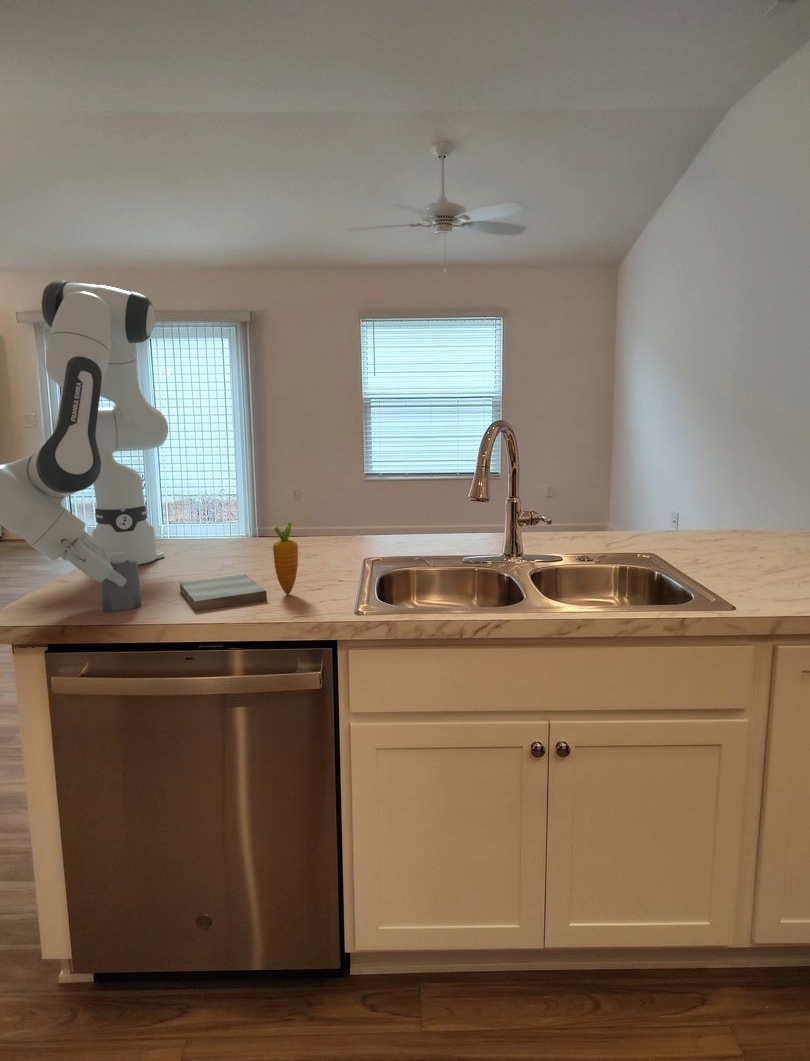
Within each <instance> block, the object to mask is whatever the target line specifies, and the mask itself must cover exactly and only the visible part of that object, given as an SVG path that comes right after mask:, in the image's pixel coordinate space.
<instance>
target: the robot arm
mask: <svg viewBox="0 0 810 1061" xmlns="http://www.w3.org/2000/svg"><path fill="white" fill-rule="evenodd" d="M40 303H41V304H40V306H41V312H42V317H43V320H44V322H45V323H46V324H47V325H48V326H49V328H50V330H49V335H48V340H47V345H46V352H45V371H46V373H47V375H48V376H49V377H50V379H51V380H52V381H53V382H54V383H56V385H58V386H60V392H61V393H60V399H59V406H58V411H57V418H56V420H55V423H54V431H53V433H52V434H51V436H49V438H47V440H46V442H44V444H43V445H42V446H41V448H39V449H38V450H37V451H36V452H34V453H32V454H29V455H28V456H25V457H23V458H20V459H17V460H15V461H10V462H8V463H4V464H3V463H2V464H0V525H1V526H2V527H3V528H5V529H6V530H8V531H9V532H12V533H15V534H16V535H19V536H20V537H22V538H23V539H24V541H26V543H27V544H28V545H30V546H31V547H32V548H33V549H35V550H37V551H38V552H39V553H41V554H42V555H44V556H45V557H47V558H48V559H50V560H51V561H56V560H58V558H61V559H62V560H63V561H66V562H67V561H68V562H69V563H70V564H72V566H74V567H76V568H77V569H78V570H80V572H82V573H83V574H85V575H86V576H88V577H89V578H90V579H92V580H93V581H95V582H97V583H99V584H100V583H101V582H103V581H104V580H105V578H106V579H108V580H110V581H113V582H115V583H116V584H117V585H119V586H121V587H122V586H123V585H124V584H125V583H126V582H127V579H126V577H124V576H123V575H122V574H120V573H118V572H117V571H116V570H114V569H113V567H112V565H111V563H110V562H111V557H110V553H115V552H124V556H125V561H126V560H137V561H138V565H142V564H143V565H144V564H146V563H150V562H152V561H156V560H158V559H162V558H165V553H164V552H162V551H160V550H157V549H158V548H157V540H156V533H155V527H154V526H153V525H152V524H150V523H149V522H148V520H147V519H148V510H147V506H146V504H145V503H144V501H145V499H144V490H143V489H144V488H143V478H142V477H141V475H140V473H139V472H138V471H137V470H135V469H133V468H132V467H130V466H128V465H125V464H122V463H118V461H116V460H115V459H114V455H113V454H114V453H116V452H133V451H134V452H136V451H146V450H147V451H148V450H151V449H155V448H159V447H162V446H163V444H164V443H165V442H166V440H167V438H168V435H169V424H168V422H167V418H166V417H165V415H163V413H162V411H160V410H159V409H158V408H155V407H154V406H153V405H152V404H150V403H149V402H148V401H147V400H146V398H145V397H144V395H143V394H142V393H143V392H142V391H141V389H140V385H139V378H138V364H137V363H138V361H137V360H138V359H137V358H138V357H137V343H140V344H141V343H144V342H146V341H147V340H148V339H150V337H151V335H152V333H153V331H154V328H155V325H156V316H155V311H154V307H153V304H152V302H151V301H150V299H149V298H148V297H147V296H145V295H143V294H141V293H138V292H136V291H127V290H124V289H121V288H117V287H112V286H107V285H103V284H99V285H97V284H90V283H82V282H81V283H80V282H70V280H69V281H68V280H54V281H51V282H50V283H49V284H47V285H46V286H45V288H44V290H43V293H42V297H41V302H40ZM100 398H103V399H106V400H109V401H111V402H112V403H113V404H115V405H114V406H100ZM91 486H93V490H94V496H95V504H96V508H95V509H94V510H95V513H94V517H95V522H96V523H97V524H96V526H95V528H94V529H92V531H91V532H90V534H91V535H90V534H89V533H87V532H86V531H85V530H84V529H85V527H86V525H87V524H86V522H84V521H83V520H81V519H80V518H79V517H77V516H76V515H74V514H73V513H72V512H70V511H69V510H68V509H66V507H63V506H62V502H63V501H64V499H66V498H68V497H70V496H72V495H75V493H78V492H80V491H84V490H86V489H88V488H90V487H91Z"/></svg>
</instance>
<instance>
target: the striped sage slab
mask: <svg viewBox="0 0 810 1061" xmlns="http://www.w3.org/2000/svg"><path fill="white" fill-rule="evenodd" d="M179 588H180V590H179V591H181V592H182V593H181V592H180V593H181V595H182V596H183V595H184V596H185V597H184V596H183V597H184V598H185V599H187V600H188V601H187V600H186V601H187V602H188V604H189V603H190V604H191V605H190V604H189V605H190V606H191V607H193V608H194V609H193V608H192V609H193V611H194V612H198V611H197V610H200V611H205V610H204V609H207V610H212V609H211V608H214V609H218V607H220V608H225V607H224V606H227V607H231V606H230V605H233V606H238V605H237V604H240V605H244V604H243V603H247V604H251V603H259V601H260V602H265V600H267V601H268V599H267V598H268V597H267V596H268V595H267V590H266V589H265V588H263V586H261V585H259V583H257V582H256V581H255V580H253V579H252V578H251V577H250V576H249V575H247V574H246V573H245V574H244V573H243V574H238V575H237V574H236V575H229V576H221V577H212V578H207V579H200V580H191V581H183V582H182V581H181V582H179Z"/></svg>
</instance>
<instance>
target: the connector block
mask: <svg viewBox="0 0 810 1061" xmlns="http://www.w3.org/2000/svg"><path fill="white" fill-rule="evenodd" d="M110 557H111V562H110V563H111V565H112V567H113V569H114V570H116V571H117V572H118V573H120V574H122V575H123V576H124V577H126V579H127V582H126V583H125V584H124V585H123V586H122V587H121V586H119V585H117V584H116V583H115V582H113V581H110V580H108V579H106V578H105V580H104V581H103V582H101V583H99V585H100V595H101V603H102V604H101V605H102V611H103V612H106V611H110V612H115V611H116V610H117V611H123V610H132V609H136V608H137V609H138V608H140V607H142V597H141V596H142V595H141V585H140V584H141V583H140V574H139V573H140V572H139V564H138V561H137V560H126V561H125V556H124V552H115V553H110ZM117 611H116V612H117Z"/></svg>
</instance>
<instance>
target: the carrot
mask: <svg viewBox="0 0 810 1061" xmlns="http://www.w3.org/2000/svg"><path fill="white" fill-rule="evenodd" d="M292 525H293V523H292V522H289V521H288V523H287V525H286V527H285V529H284V530H282V531H281V530H280V528H279V526H274V527H273V529H274V531H275V532H276V534H277V535H278V537H279V539H280V540H278V541H275V543H274V544H273V548H272V551H273V563H274V569H275V574H276V576H277V580H278V582H279V585H280V587H281V590H283V592H284V594H285V595H288V594H289V595H290V593H292V590H293V588H294V586H295V582H296V580H297V573H298V567H299V566H298V565H299V562H298V561H299V554H298V553H299V551H298V549H299V547H298V543H297V542H296V541H295V540H292V539H289V538H290V535H291V532H292V531H291V530H292ZM289 595H288V596H289Z"/></svg>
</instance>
